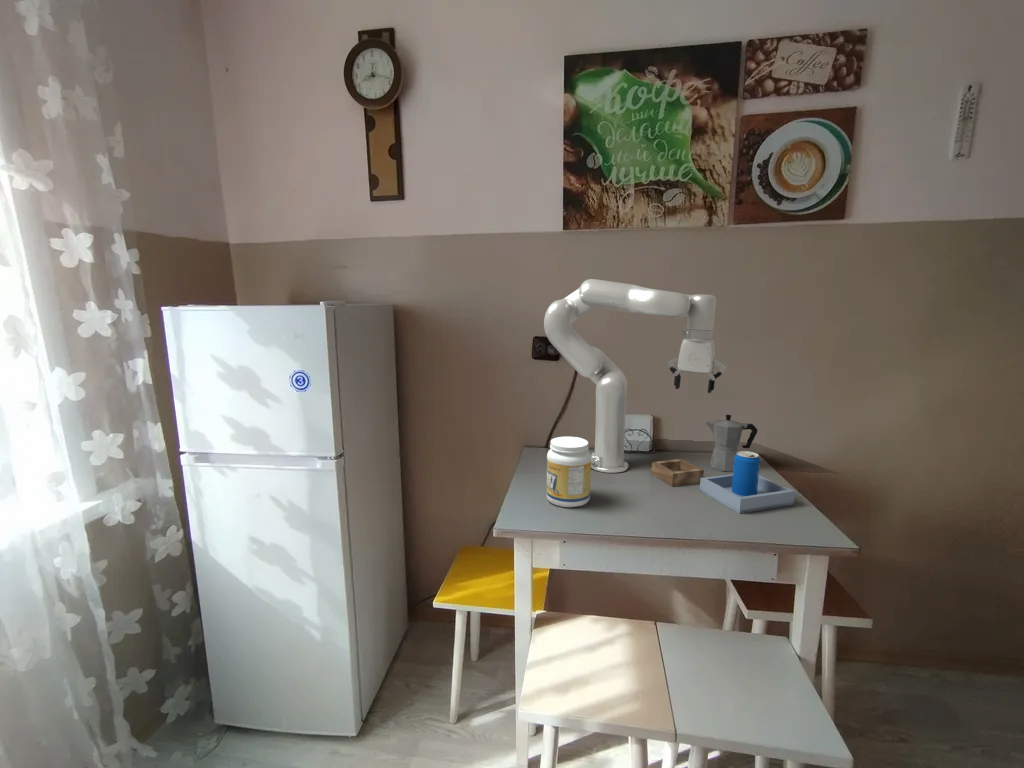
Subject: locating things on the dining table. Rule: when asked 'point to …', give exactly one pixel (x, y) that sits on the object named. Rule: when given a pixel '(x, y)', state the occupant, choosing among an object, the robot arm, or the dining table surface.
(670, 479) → the brown wooden box
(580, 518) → the dining table surface
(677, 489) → the dining table surface
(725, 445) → the coffeepot
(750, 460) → the beverage can
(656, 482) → the dining table surface
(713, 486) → the tray
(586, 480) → the supplement tub
